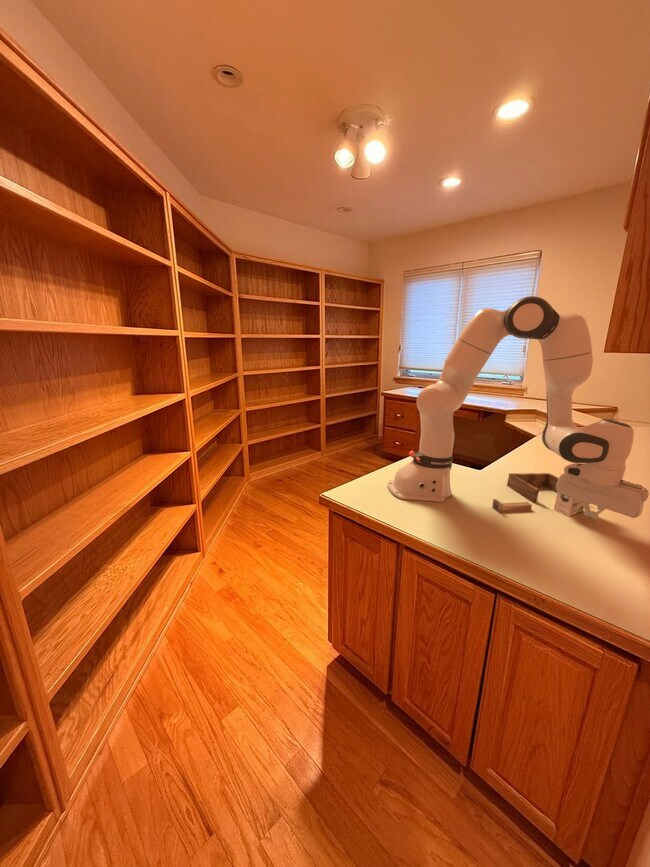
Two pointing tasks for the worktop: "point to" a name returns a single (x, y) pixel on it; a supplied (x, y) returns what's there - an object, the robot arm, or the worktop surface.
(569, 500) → the ink box
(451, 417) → the robot arm
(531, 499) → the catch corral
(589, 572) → the worktop surface
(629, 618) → the worktop surface
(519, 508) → the beech bar
